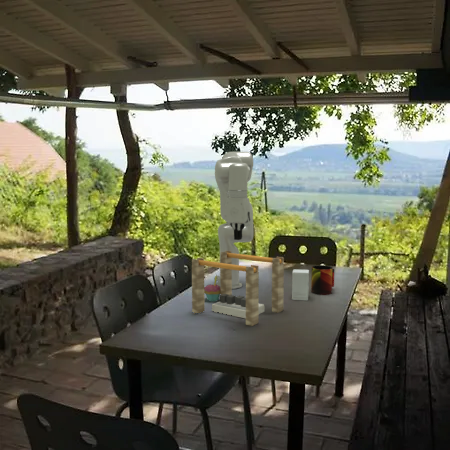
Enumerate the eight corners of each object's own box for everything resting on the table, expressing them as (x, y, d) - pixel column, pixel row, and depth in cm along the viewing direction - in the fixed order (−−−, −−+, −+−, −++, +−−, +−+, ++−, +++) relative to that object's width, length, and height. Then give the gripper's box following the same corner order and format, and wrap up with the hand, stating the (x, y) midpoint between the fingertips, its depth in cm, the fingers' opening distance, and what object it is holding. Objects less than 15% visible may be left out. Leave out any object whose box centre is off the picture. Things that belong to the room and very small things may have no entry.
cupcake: (225, 298, 224) (225, 272, 222) (217, 303, 216) (217, 276, 214) (208, 296, 227) (208, 271, 226) (199, 301, 220) (199, 275, 218)
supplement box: (308, 300, 220) (308, 273, 218) (291, 299, 221) (291, 272, 220) (308, 296, 227) (309, 269, 226) (292, 295, 229) (292, 268, 227)
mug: (334, 288, 241) (334, 264, 240) (330, 295, 228) (331, 270, 227) (314, 287, 244) (314, 263, 243) (309, 294, 231) (310, 268, 230)
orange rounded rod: (193, 264, 201) (193, 259, 201) (196, 263, 203) (196, 259, 202) (254, 273, 185) (254, 268, 184) (257, 272, 186) (257, 267, 186)
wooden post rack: (192, 312, 203) (191, 259, 200) (226, 299, 222) (226, 250, 220) (252, 326, 186) (252, 267, 183) (283, 310, 206) (283, 257, 203)
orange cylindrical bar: (221, 256, 217) (221, 252, 217) (224, 256, 219) (224, 251, 219) (280, 264, 201) (280, 259, 201) (282, 263, 202) (282, 258, 202)
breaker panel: (212, 311, 205) (211, 297, 204) (228, 304, 214) (228, 291, 214) (248, 319, 194) (248, 304, 194) (264, 311, 204) (264, 297, 203)
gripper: (217, 194, 200) (217, 239, 202) (248, 196, 191) (248, 242, 194) (228, 193, 206) (228, 236, 208) (258, 194, 197) (258, 240, 200)
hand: (238, 239), depth 201 cm, fingers closed
